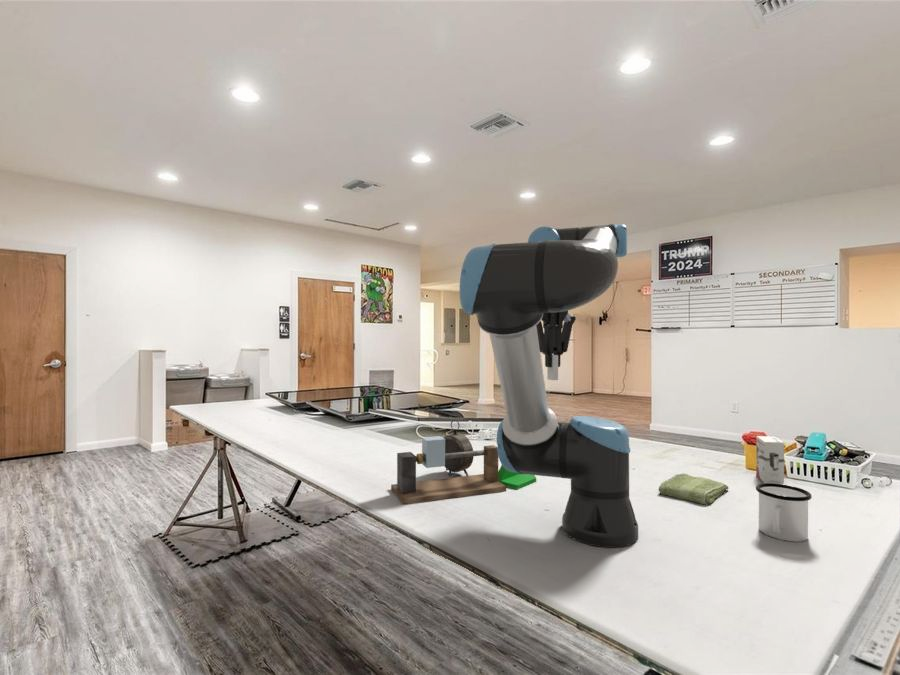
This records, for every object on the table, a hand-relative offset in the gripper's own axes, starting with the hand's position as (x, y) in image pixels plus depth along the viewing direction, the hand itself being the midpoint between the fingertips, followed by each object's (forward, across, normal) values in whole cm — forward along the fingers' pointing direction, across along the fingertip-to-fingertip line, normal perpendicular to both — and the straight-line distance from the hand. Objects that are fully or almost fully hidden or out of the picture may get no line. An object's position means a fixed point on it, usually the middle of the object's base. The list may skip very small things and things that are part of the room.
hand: (552, 379), depth 123 cm
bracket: (+30, +4, -11) cm, 32 cm away
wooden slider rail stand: (+29, +25, -11) cm, 40 cm away
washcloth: (+30, -35, +13) cm, 48 cm away
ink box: (+30, -64, +13) cm, 72 cm away
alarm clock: (+30, +18, -23) cm, 42 cm away
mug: (+30, -29, +40) cm, 57 cm away
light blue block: (+22, +29, -11) cm, 38 cm away
